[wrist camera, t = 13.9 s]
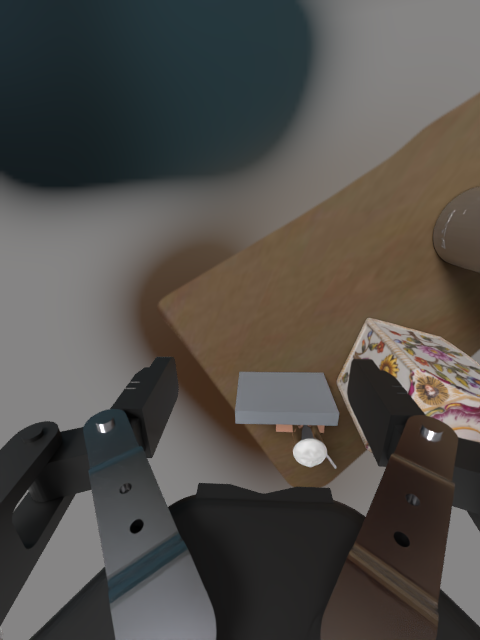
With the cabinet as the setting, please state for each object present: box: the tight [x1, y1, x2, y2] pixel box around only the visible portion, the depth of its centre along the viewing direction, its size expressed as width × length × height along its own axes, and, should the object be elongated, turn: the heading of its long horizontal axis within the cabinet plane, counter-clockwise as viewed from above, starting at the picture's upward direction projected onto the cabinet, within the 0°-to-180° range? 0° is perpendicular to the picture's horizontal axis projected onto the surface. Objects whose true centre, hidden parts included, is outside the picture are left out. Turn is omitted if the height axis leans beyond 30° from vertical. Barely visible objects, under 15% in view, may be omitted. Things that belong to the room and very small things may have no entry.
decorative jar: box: [337, 318, 480, 453], centre depth 33 cm, size 12×12×18 cm
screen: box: [235, 372, 339, 426], centre depth 39 cm, size 13×2×9 cm, turn 91°
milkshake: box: [292, 425, 336, 469], centre depth 40 cm, size 5×5×10 cm
